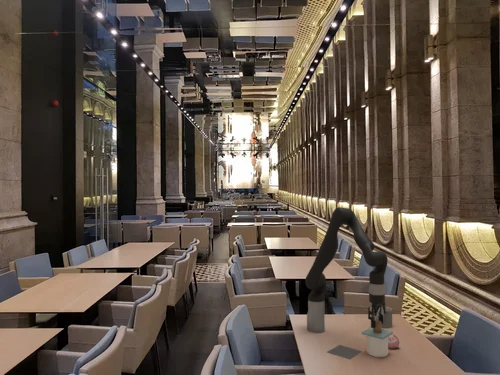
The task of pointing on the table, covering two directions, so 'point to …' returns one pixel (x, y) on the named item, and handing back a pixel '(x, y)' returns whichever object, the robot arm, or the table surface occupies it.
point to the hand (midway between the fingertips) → (377, 325)
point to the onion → (393, 342)
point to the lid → (377, 331)
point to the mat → (344, 352)
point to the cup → (377, 346)
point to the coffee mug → (386, 318)
